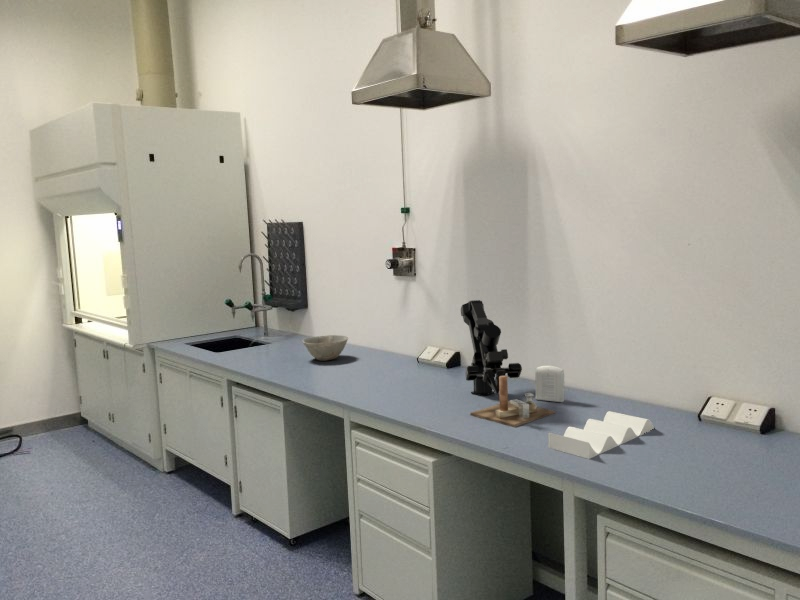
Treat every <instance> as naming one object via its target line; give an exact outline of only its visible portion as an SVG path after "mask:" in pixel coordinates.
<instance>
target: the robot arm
mask: <svg viewBox="0 0 800 600" xmlns="http://www.w3.org/2000/svg"><path fill="white" fill-rule="evenodd" d="M484 307H485V306H484V303H483V301H482V300H480V299H475V300H469V301H468V302H467V303H464V304H462V305H461V306H460V315H461V317H462V318H463V319H462V320H463V323H465V324H466V325H468V328H469V332H470V339H471V343H472V348H473V356H472V360H471V361H472V362H471V365H467V366H466V369H465V380H466V381H469V382H470V381H473V391H472V390H471V392H470V393H471V394H472V393H473V394H472V395H476V396H481V397H486V396H489V395H492V394H496V395H500V393H499V376H507V378H509V379H515V378H516V379H518V378H520V376H521V374H522V370H523V367H522V364H521V363H520V362H511V363H509V364H508V366H507V367H502V366H503V361H504V360H507V359H508V358H509V353H508V350H507V349H500V351H498V347H497V345H498V344H499V341H500V338H501V333H502V329H501V328H500V327H499V326H498V325H496V324H495V323H494V321H493V320H491V319H490V318H488V316H487V315H486V312H485V308H484ZM506 374H507V375H506Z"/></svg>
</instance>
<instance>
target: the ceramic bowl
mask: <svg viewBox="0 0 800 600" xmlns="http://www.w3.org/2000/svg"><path fill="white" fill-rule="evenodd" d="M348 341H349V337H348V336H346V335H339V334H337V335H336V334H334V335H331V334H328V335H319V336H312V337H311V336H310V337H306V338H304V339H302V340H301V342H302V343H303V346H305V348H306V350H307V351H308V352H309V354H310V356H312V357H313V358H314V359H316V360H318V361H320V362H321V361H322V362H325V361H331V360H335V359H337V358H338V357H339V356H340V355H341V354H342V352H343V351H344V349H345V347H346V345H347V343H348Z"/></svg>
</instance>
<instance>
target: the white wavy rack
mask: <svg viewBox="0 0 800 600" xmlns="http://www.w3.org/2000/svg"><path fill="white" fill-rule="evenodd" d="M652 429H654V430H656V427H655V426H654V425H653V422H652V421H651V420H650V419H649V418H644V417H640V416H639V417H638V416H635V415H630V414H623V413H620V412H615V411H607V412H606V414H605V415H604V417H603V419H602V420H599V419H595V418H594V419H593V418H588V419H587V421H586V423H585V425H584V426H583V428H578V427H574V426H568V427H567V428H566V430H565V431H564V434H563V435H561V434H556V433H553V432H548V448H549V449H553V450H557V451H558V452H563V453H566V454H570V455H573V456H577V457H580V458H584V459H587V460H590V459H592V458H594V457H596V456H599V455H601V454H603V453H605V452H608V451H610V450H612V449H614V448H616V447H619V446H620V445H623V444H626V443H627V442H630V441H632V440H633V439H636V438H638V437H641V436H643V435H645V434H647V433H650V432H651V431H650V430H652ZM652 431H653V430H652ZM646 432H647V433H646ZM644 433H645V434H644Z"/></svg>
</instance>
